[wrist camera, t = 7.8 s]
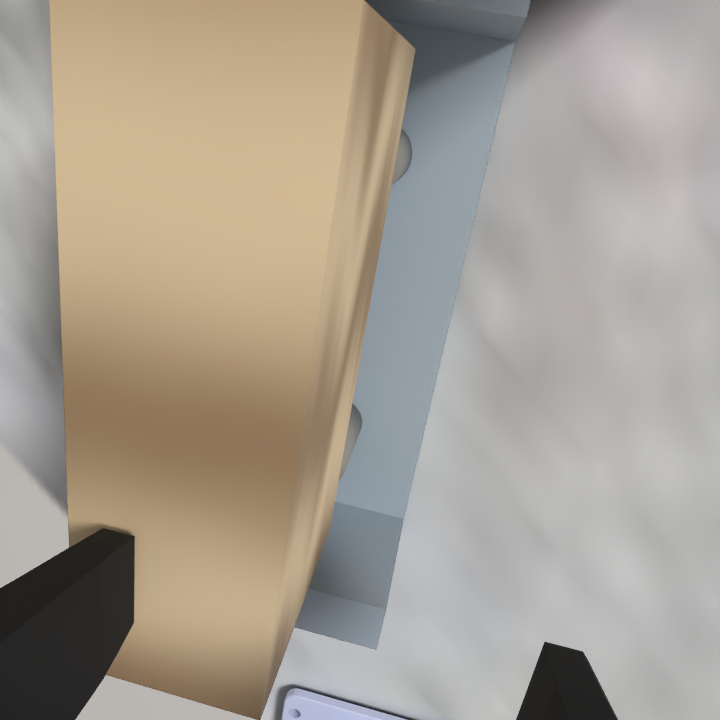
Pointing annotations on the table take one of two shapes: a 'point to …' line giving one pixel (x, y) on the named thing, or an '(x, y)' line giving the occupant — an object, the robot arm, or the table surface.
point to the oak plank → (217, 305)
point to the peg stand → (411, 295)
